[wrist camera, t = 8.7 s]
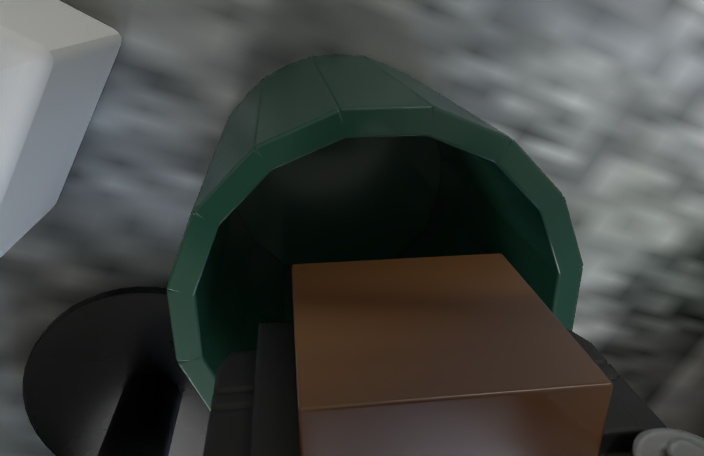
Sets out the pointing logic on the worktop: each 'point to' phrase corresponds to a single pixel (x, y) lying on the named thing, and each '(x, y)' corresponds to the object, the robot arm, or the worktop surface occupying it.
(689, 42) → the worktop surface
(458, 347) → the block
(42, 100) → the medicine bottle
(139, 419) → the lid
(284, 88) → the tin
